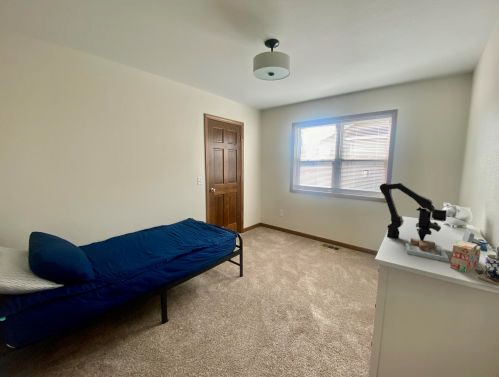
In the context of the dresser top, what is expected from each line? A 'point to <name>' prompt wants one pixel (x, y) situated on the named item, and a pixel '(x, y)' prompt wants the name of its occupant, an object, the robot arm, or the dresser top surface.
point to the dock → (442, 252)
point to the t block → (423, 244)
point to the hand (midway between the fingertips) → (421, 241)
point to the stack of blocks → (465, 256)
